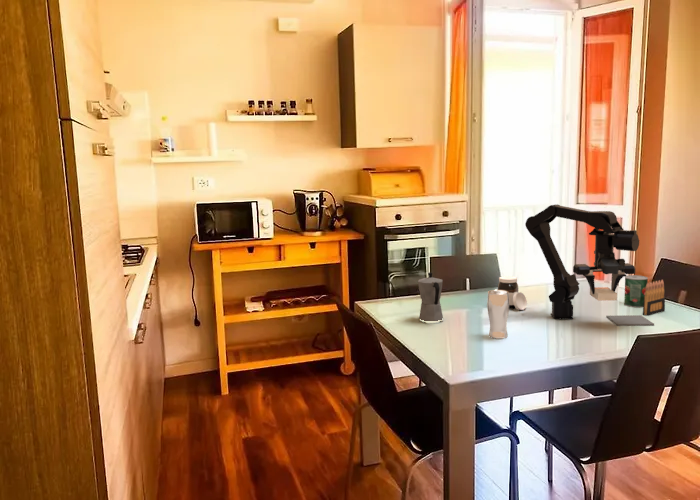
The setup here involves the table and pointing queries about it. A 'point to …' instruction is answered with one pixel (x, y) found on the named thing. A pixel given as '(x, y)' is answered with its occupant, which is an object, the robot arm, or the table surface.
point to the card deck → (604, 294)
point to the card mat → (630, 320)
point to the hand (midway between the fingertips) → (603, 293)
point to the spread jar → (512, 292)
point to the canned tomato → (635, 290)
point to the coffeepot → (430, 298)
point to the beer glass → (498, 313)
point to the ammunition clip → (654, 298)
